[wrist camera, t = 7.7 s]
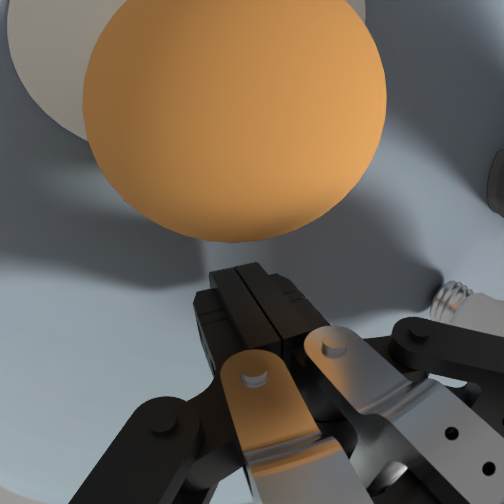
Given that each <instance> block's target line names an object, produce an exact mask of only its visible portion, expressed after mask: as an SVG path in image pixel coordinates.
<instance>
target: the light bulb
mask: <svg viewBox="0 0 504 504" xmlns="http://www.w3.org/2000/svg"><path fill="white" fill-rule="evenodd" d="M430 317H431V320H432V321H436V322H440V323H445V324H449V325H453V326H457V327H462V328H466V329H470V330H474V331H479V332H483V333H487V334H492V335H496V336H501V337H504V301H501V300H496V299H493V298H491V297H489V296H487V295H486V294H483V293H474V294H473V291H472V290H471V289H468V287H467V286H466V285H464V286H463V284H462V283H461V282H456V281H449V282H447V283H446V284H444V285H443V286H442V287H441V288H440V289H438V291H437V292H436V293H435V295H434V297H433V300H432V303H431V308H430Z"/></svg>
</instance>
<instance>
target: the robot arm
mask: <svg viewBox="0 0 504 504" xmlns="http://www.w3.org/2000/svg"><path fill="white" fill-rule="evenodd" d="M209 281H210V288H211V289H207V290H203V291H198V292H196V296H195V299H194V302H193V305H194V311H195V316H196V321H197V326H198V331H199V335H200V340H201V344H202V346H203V349H204V352H205V355H206V358H207V361H208V363H209V366H210V369H211V372H212V375H213V377H214V379H213V381H212V383H211V384H210V385H209V387H208V388H207V389H206V390H205V391H203V392H202V393H200V394H199V395H197V396H196V397H194V398H192V399H190V400H188V401H187V402H186V401H185V400H182V399H180V398H176V397H169V396H165V397H157V398H154V399H151V400H148V401H146V402H145V403H143V404H141V405H140V406H139V407H138V408H137V409H136V410H135V411H134V413H133V414H132V415H131V417H130V418H129V419H128V421H127V422H126V424H125V425H124V426H123V428H122V429H121V431H120V432H119V433H118V435H117V436H116V438H115V439H114V440H113V442H112V443H111V445H110V446H109V447H108V449H107V450H106V452H105V453H104V454H103V456H102V457H101V459H100V460H99V461H98V463H97V464H96V466H95V467H94V468H93V470H92V471H91V473H90V474H89V475H88V477H87V478H86V480H85V481H84V482H83V484H82V485H81V487H80V488H79V489H78V491H77V492H76V494H75V495H74V496H73V498H72V499H71V501H70V502H69V503H68V504H209V502H210V500H211V498H212V496H213V494H214V492H215V490H216V488H217V486H218V483H219V481H221V480H222V479H224V478H226V477H227V476H229V475H230V474H232V473H233V472H235V471H236V470H238V469H239V468H241V467H242V469H243V472H244V475H245V478H246V481H247V484H248V487H249V490H250V493H251V496H252V499H253V502H254V504H504V337H501V336H496V335H492V334H487V333H483V332H479V331H474V330H470V329H466V328H462V327H457V326H453V325H449V324H445V323H440V322H436V321H432V320H428V319H424V318H419V317H407V318H403V319H401V320H399V321H398V322H396V324H395V325H394V327H393V330H392V334H391V336H384V337H376V338H368V339H362V338H361V337H360V336H359V335H358V334H356V333H355V332H354V331H352V330H350V329H348V328H345V327H341V326H331V325H330V324H329V323H328V322H327V321H326V320H325V319H324V317H323V316H322V315H321V314H320V313H319V312H318V311H317V310H316V309H315V307H314V306H313V305H312V304H311V303H310V302H309V301H308V300H307V299H305V296H304V295H303V294H302V293H301V292H300V291H298V289H297V287H296V286H295V285H294V284H293V283H292V282H291V281H290V280H289V279H287V278H285V277H283V276H281V275H279V274H277V273H276V274H272V275H268V274H267V273H266V272H265V271H264V269H263V268H262V267H261V266H260V264H259V263H258V262H254V263H249V264H245V265H240V266H235V267H231V268H227V269H222V270H217V271H213V272H209ZM430 373H431V374H435V375H440V376H444V377H448V378H452V379H457V380H461V381H466V382H468V383H467V384H466V385H465V386H463V387H459V388H454V387H449V386H445V385H443V384H441V383H440V382H438V381H437V380H434V379H431V378H428V376H429V374H430ZM407 467H408V469H407Z"/></svg>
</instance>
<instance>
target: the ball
mask: <svg viewBox="0 0 504 504" xmlns="http://www.w3.org/2000/svg"><path fill="white" fill-rule="evenodd" d="M386 102H387V94H386V82H385V73H384V69H383V66H382V62H381V59H380V56H379V53H378V50H377V47H376V44H375V42H374V40H373V38H372V36H371V34H370V32H369V31H368V29H367V27H366V26H365V24H364V23H363V21H362V20H361V18H360V17H359V16H358V14H357V13H356V12H355V11H354V9H353V8H352V7H351V6H350V5H349V4H348V3H347V2H346V1H345V0H127V1H126V2H125V3H124V4H123V5H122V6H121V7H120V8H119V9H118V10H117V11H116V12H115V14H114V15H113V16H112V18H111V19H110V20H109V22H108V23H107V25H106V26H105V28H104V29H103V31H102V32H101V34H100V36H99V38H98V40H97V42H96V44H95V46H94V48H93V50H92V53H91V56H90V60H89V63H88V67H87V70H86V74H85V78H84V86H83V107H82V111H83V117H84V123H85V129H86V134H87V139H88V142H89V145H90V147H91V150H92V152H93V155H94V157H95V159H96V162H97V164H98V166H99V168H100V169H101V171H102V172H103V174H104V176H105V177H106V179H107V180H108V182H109V183H110V184H111V185H112V187H113V188H114V189H115V190H116V191H117V192H118V193H119V195H120V196H121V197H122V198H123V199H124V200H125V201H126V202H127V203H128V204H130V205H131V206H132V207H133V208H135V209H136V210H137V211H138V212H140V213H141V214H142V215H144V216H145V217H146V218H148V219H150V220H152V221H153V222H155V223H157V224H159V225H160V226H162V227H164V228H167V229H169V230H172V231H174V232H177V233H180V234H182V235H185V236H189V237H193V238H198V239H202V240H207V241H215V242H230V243H237V242H249V241H258V240H264V239H268V238H272V237H275V236H279V235H282V234H285V233H288V232H291V231H293V230H296V229H298V228H300V227H302V226H304V225H306V224H308V223H310V222H312V221H314V220H316V219H317V218H319V217H321V216H322V215H323V214H325V213H326V212H327V211H329V210H330V209H331V208H332V207H334V206H335V205H336V204H337V203H339V202H340V201H341V200H342V199H343V198H344V197H345V196H346V195H347V194H348V193H349V191H350V190H351V189H352V188H353V187H354V186H355V185H356V184H357V182H358V181H359V180H360V178H361V176H362V175H363V173H364V172H365V170H366V169H367V167H368V166H369V164H370V162H371V160H372V158H373V156H374V153H375V151H376V149H377V146H378V144H379V141H380V138H381V134H382V130H383V126H384V121H385V115H386Z"/></svg>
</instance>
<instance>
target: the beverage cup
mask: <svg viewBox="0 0 504 504" xmlns="http://www.w3.org/2000/svg"><path fill="white" fill-rule="evenodd" d="M487 196H488V204H489V207H490V209H491V210H492V211H493V212H495V213H497V214H499V215H500V216H501V217H503V218H504V149H501V150H500V151H499V152H498V154H497V155H496V157H495V159H494V161H493V164H492V167H491V170H490V175H489V180H488V190H487Z"/></svg>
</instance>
